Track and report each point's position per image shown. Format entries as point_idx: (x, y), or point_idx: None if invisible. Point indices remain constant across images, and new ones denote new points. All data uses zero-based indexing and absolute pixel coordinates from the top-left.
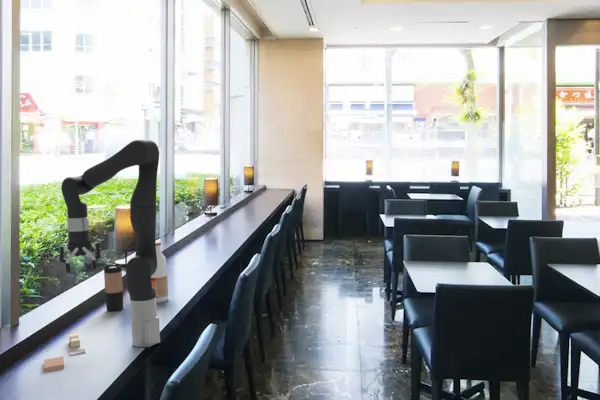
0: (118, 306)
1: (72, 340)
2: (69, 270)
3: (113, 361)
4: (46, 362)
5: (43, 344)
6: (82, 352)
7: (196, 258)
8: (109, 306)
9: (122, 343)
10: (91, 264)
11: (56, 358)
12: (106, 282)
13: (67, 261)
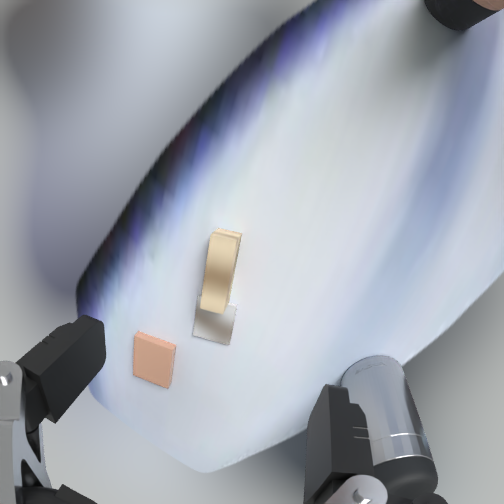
0: (462, 25)
1: (204, 301)
2: (88, 376)
3: (263, 419)
4: (138, 354)
5: (152, 189)
6: (222, 342)
7: None
8: (437, 5)
9: (333, 347)
10: (330, 419)
11: (157, 350)
12: None
13: (26, 432)
